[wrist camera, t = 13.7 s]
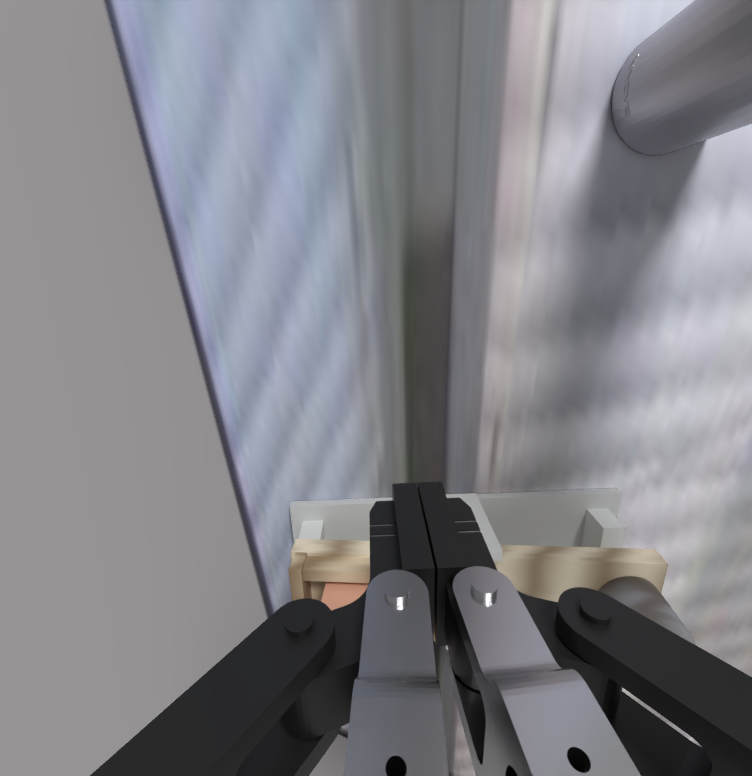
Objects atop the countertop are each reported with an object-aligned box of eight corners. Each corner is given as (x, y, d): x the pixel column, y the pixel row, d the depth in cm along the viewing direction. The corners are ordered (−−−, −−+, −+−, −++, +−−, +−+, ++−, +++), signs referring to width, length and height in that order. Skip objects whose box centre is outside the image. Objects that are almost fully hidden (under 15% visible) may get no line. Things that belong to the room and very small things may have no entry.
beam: (655, 549, 38) (706, 609, 32) (639, 619, 41) (683, 688, 34) (296, 538, 41) (274, 591, 35) (303, 604, 44) (284, 665, 38)
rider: (387, 574, 39) (384, 616, 35) (388, 612, 41) (385, 658, 36) (328, 572, 40) (317, 614, 35) (332, 610, 42) (322, 655, 37)
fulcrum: (616, 487, 46) (677, 543, 37) (600, 571, 50) (653, 640, 41) (291, 500, 45) (272, 560, 36) (300, 584, 49) (286, 657, 40)
